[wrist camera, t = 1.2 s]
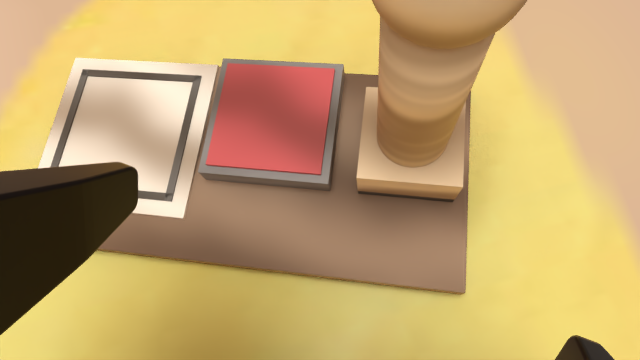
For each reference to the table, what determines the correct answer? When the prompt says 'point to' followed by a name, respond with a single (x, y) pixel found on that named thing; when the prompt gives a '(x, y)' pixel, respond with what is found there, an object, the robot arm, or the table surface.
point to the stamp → (424, 94)
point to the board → (255, 171)
